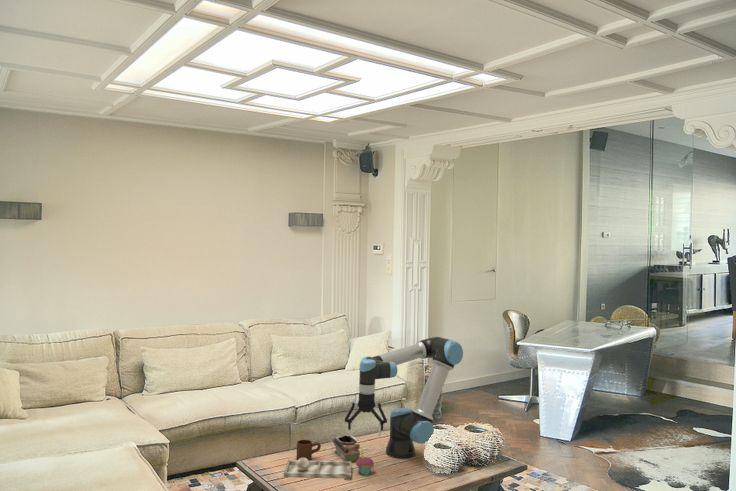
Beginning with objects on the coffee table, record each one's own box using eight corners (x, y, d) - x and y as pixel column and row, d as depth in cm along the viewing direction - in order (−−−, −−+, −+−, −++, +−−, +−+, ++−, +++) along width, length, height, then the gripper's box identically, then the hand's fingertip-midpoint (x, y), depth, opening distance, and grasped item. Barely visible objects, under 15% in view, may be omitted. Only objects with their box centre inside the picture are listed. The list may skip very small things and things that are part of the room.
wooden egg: (309, 468, 293) (309, 455, 293) (308, 473, 287) (308, 460, 287) (297, 467, 293) (297, 455, 293) (295, 472, 287) (296, 460, 287)
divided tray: (351, 466, 298) (351, 461, 298) (350, 479, 283) (351, 474, 282) (287, 465, 298) (287, 460, 298) (283, 478, 282) (283, 473, 282)
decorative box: (334, 464, 301) (335, 445, 301) (325, 450, 320) (326, 432, 320) (360, 462, 305) (360, 443, 304) (349, 448, 324) (350, 430, 324)
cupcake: (360, 477, 286) (361, 451, 286) (352, 470, 293) (353, 446, 293) (376, 474, 290) (377, 449, 290) (368, 468, 297) (369, 443, 297)
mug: (319, 457, 310) (320, 439, 310) (321, 463, 302) (321, 444, 302) (296, 458, 308) (296, 439, 308) (296, 463, 300) (297, 444, 300)
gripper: (392, 391, 295) (391, 435, 295) (340, 389, 295) (339, 433, 295) (393, 395, 287) (391, 440, 288) (340, 393, 287) (338, 438, 287)
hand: (365, 436), depth 291 cm, fingers open, 13 cm apart
